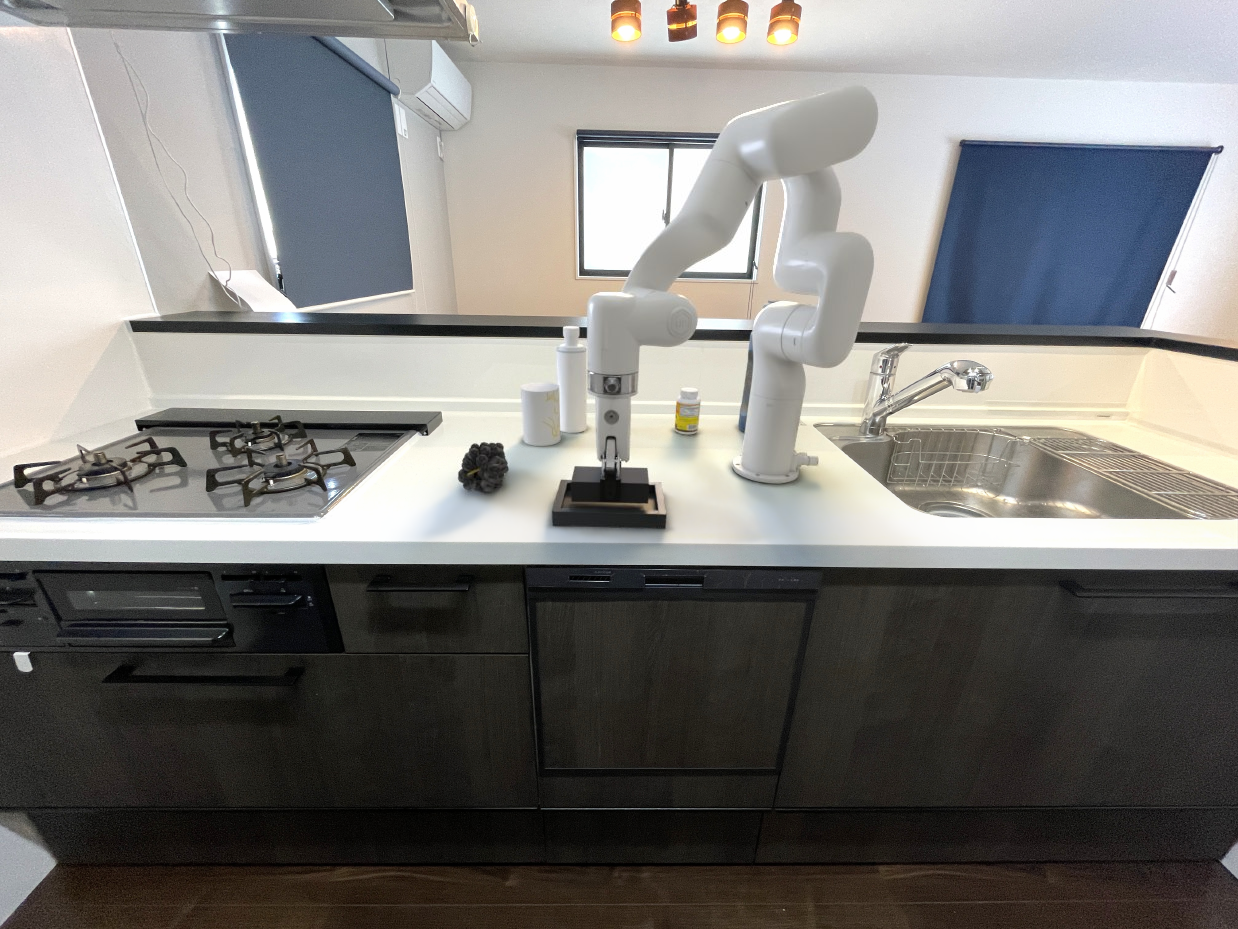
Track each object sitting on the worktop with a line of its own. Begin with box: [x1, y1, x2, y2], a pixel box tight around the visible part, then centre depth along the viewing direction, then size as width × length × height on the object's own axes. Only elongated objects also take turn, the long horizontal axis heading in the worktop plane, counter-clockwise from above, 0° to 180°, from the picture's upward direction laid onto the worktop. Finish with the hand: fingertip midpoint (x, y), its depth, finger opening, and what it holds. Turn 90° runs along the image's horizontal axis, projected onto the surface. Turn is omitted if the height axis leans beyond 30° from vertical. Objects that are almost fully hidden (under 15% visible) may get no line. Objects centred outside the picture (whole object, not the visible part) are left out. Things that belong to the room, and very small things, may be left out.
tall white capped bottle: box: [556, 325, 588, 434], centre depth 112 cm, size 7×7×25 cm
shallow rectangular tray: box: [551, 479, 667, 530], centre depth 80 cm, size 17×11×2 cm, turn 89°
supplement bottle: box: [674, 387, 702, 436], centre depth 115 cm, size 6×6×10 cm
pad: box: [570, 465, 650, 504], centre depth 79 cm, size 12×6×4 cm, turn 89°
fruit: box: [457, 441, 510, 493], centre depth 88 cm, size 9×8×15 cm
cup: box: [520, 381, 561, 447], centre depth 107 cm, size 8×8×12 cm
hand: (610, 490), depth 79 cm, fingers closed on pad, 5 cm apart
